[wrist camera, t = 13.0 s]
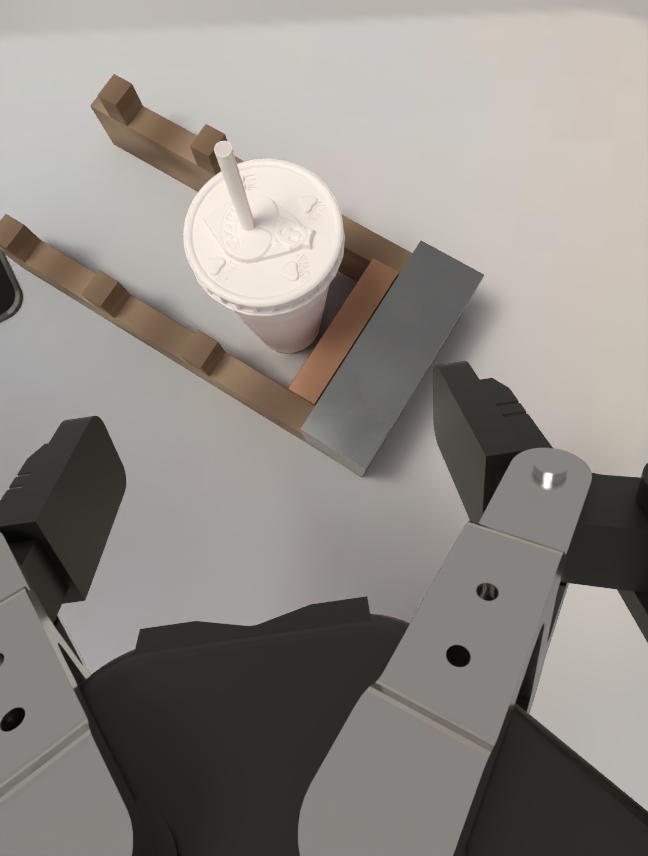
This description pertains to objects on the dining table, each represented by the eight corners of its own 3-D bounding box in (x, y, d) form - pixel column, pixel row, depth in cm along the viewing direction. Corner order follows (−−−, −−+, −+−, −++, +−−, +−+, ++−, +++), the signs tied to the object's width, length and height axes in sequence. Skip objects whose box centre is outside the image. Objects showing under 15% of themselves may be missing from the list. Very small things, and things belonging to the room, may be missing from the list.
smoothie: (248, 260, 30) (168, 47, 17) (355, 281, 30) (364, 78, 16) (220, 363, 29) (112, 227, 16) (331, 386, 29) (319, 267, 15)
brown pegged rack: (20, 266, 31) (-34, 224, 27) (127, 125, 32) (93, 62, 28) (334, 460, 28) (332, 448, 24) (436, 296, 30) (452, 257, 25)
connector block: (307, 443, 28) (300, 429, 24) (409, 281, 30) (420, 240, 25) (362, 477, 28) (365, 469, 24) (463, 311, 29) (484, 274, 25)
